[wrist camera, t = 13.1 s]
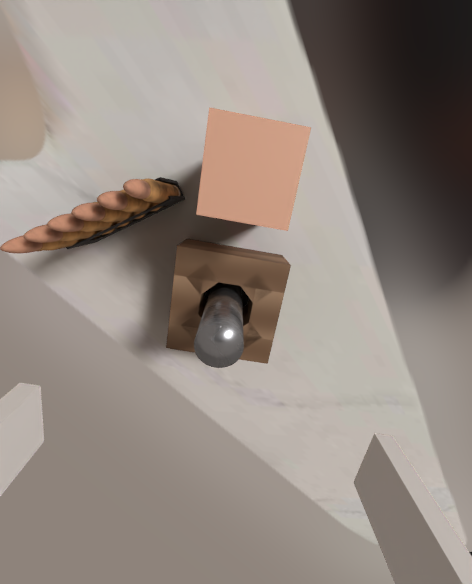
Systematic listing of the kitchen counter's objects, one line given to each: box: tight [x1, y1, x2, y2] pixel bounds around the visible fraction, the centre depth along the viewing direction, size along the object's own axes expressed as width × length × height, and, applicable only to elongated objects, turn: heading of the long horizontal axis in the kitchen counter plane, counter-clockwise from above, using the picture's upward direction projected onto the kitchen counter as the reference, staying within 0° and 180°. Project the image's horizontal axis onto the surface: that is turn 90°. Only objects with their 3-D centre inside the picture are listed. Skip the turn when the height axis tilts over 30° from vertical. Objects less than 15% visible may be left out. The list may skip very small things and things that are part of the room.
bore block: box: [166, 239, 291, 364], centre depth 28 cm, size 10×10×5 cm
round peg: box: [194, 282, 244, 368], centre depth 24 cm, size 3×3×12 cm
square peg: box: [196, 108, 311, 231], centre depth 21 cm, size 6×6×12 cm
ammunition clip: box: [0, 177, 185, 253], centre depth 22 cm, size 11×2×12 cm, turn 114°
